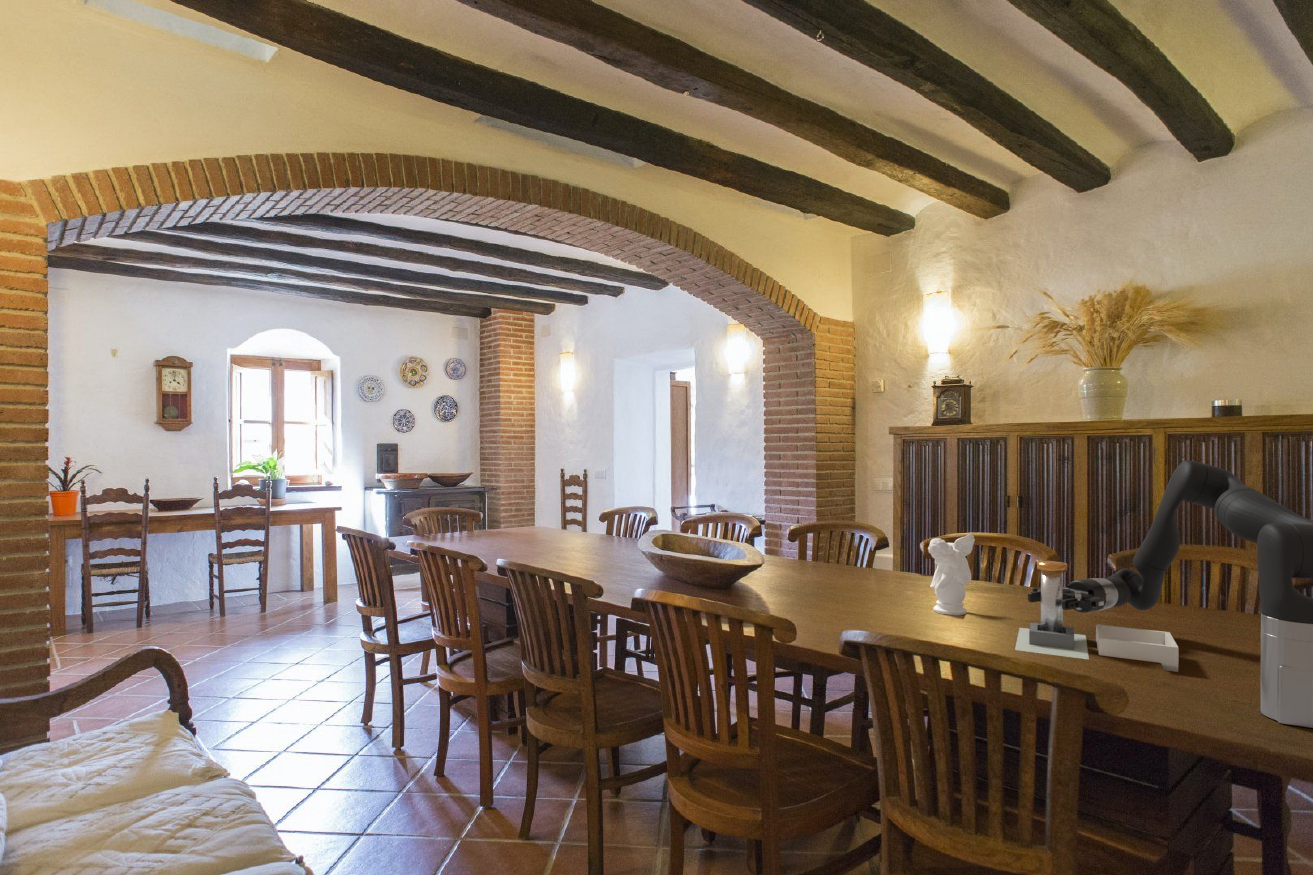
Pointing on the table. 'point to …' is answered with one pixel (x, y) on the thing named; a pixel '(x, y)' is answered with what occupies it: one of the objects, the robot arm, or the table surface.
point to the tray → (1138, 645)
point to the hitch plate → (1052, 642)
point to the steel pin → (1051, 595)
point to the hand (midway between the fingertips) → (1046, 601)
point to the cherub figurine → (951, 573)
